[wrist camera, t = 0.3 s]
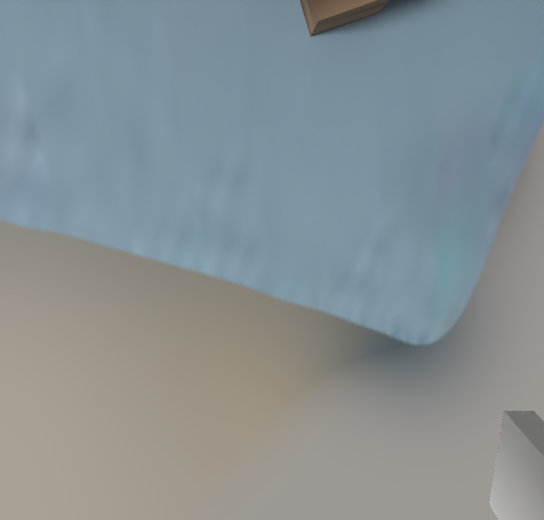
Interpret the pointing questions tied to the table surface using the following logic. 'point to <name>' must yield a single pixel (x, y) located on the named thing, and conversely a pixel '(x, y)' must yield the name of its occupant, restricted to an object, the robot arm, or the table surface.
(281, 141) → the table surface
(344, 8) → the cargo block
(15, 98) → the table surface
